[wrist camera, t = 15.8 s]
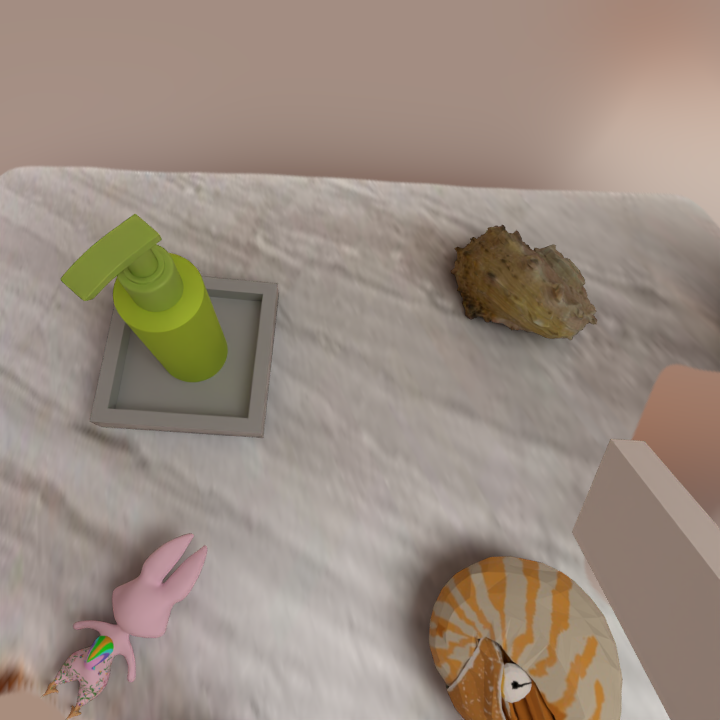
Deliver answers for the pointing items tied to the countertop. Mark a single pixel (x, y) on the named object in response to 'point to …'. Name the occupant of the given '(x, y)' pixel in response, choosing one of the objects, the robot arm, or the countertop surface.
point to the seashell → (522, 285)
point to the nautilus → (524, 645)
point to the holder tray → (195, 399)
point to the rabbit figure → (132, 619)
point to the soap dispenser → (155, 298)
